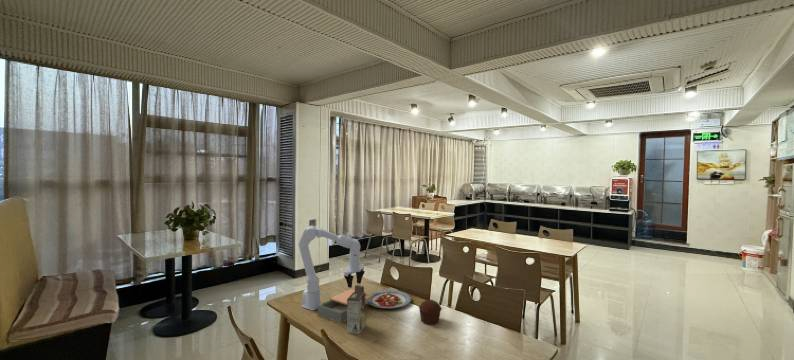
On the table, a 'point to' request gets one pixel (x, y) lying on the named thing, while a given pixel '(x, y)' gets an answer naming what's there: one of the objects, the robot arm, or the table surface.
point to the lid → (345, 295)
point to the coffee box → (356, 312)
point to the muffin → (430, 312)
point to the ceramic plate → (389, 299)
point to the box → (333, 311)
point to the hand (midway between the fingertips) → (354, 285)
